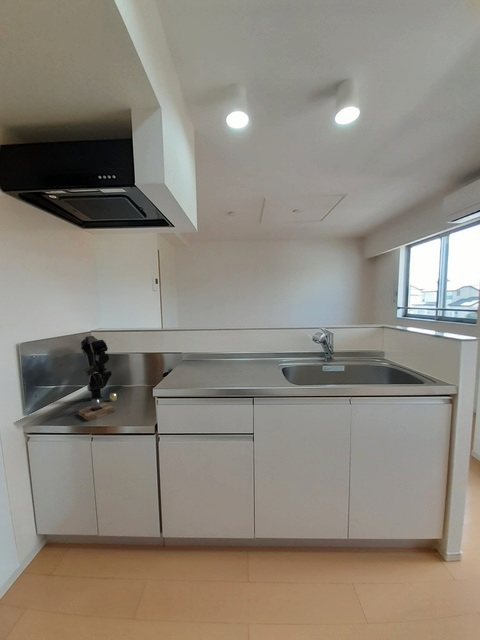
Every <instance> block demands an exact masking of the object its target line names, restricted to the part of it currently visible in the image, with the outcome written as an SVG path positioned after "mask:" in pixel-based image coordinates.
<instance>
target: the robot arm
mask: <svg viewBox="0 0 480 640" xmlns="http://www.w3.org/2000/svg"><path fill="white" fill-rule="evenodd" d="M80 345H81V347H80V350H81V352H82V354H83V355H84V356H86V362H87V366H88V367H87V368H85V369H83V372H84V373H85V376H88V377H89V378H88V383H87V386H86V387H87V388H86V389H87V391H88V392H90V394H91V395H90V397H89V400H91V401H92V399H95V398H99V399H104V396H103V395H102V390H101V389H104V388H105V387H106V386H107V384H108V382H109V380H110V378H111V376H113V371H112V370H109V369H107V367H106V364H107V363H108V362H109V360H110V356H109V355H108V353H106V352H108V349H109V348H108V346H107V343H106V341H105V340H104V339H97V338H96V337H95V336H94V335H89V336H85V337H84V339H83V340H82V341H81V342H80Z"/></svg>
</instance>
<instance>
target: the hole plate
mask: <svg viewBox="0 0 480 640" xmlns="http://www.w3.org/2000/svg"><path fill="white" fill-rule="evenodd" d="M77 412H78V416H80V417H81V418H83V419H84V420H86V421H88V422H91V421H93V420H96V419H99V418H101V417H103V416H104V417H105V416H106V415H110V414H112V413H115V407H114V406H113V405H110V404H108V403H106V402H105V401H102V402H100V410H97V411H94V412H93V411H92V405H91V406H90V405H89V406H86V407H83V408H80V409H78V410H77Z"/></svg>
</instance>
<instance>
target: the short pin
mask: <svg viewBox="0 0 480 640" xmlns="http://www.w3.org/2000/svg"><path fill="white" fill-rule="evenodd" d="M117 400H118V399H117V393H116V392H111V393H109V402H115V401H117Z"/></svg>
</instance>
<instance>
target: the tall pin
mask: <svg viewBox="0 0 480 640" xmlns="http://www.w3.org/2000/svg"><path fill="white" fill-rule="evenodd" d="M100 403H101V400H100V399H99V398H95V399H92V400H91V406H92V411H93V412H94V411H97V410H100Z"/></svg>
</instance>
